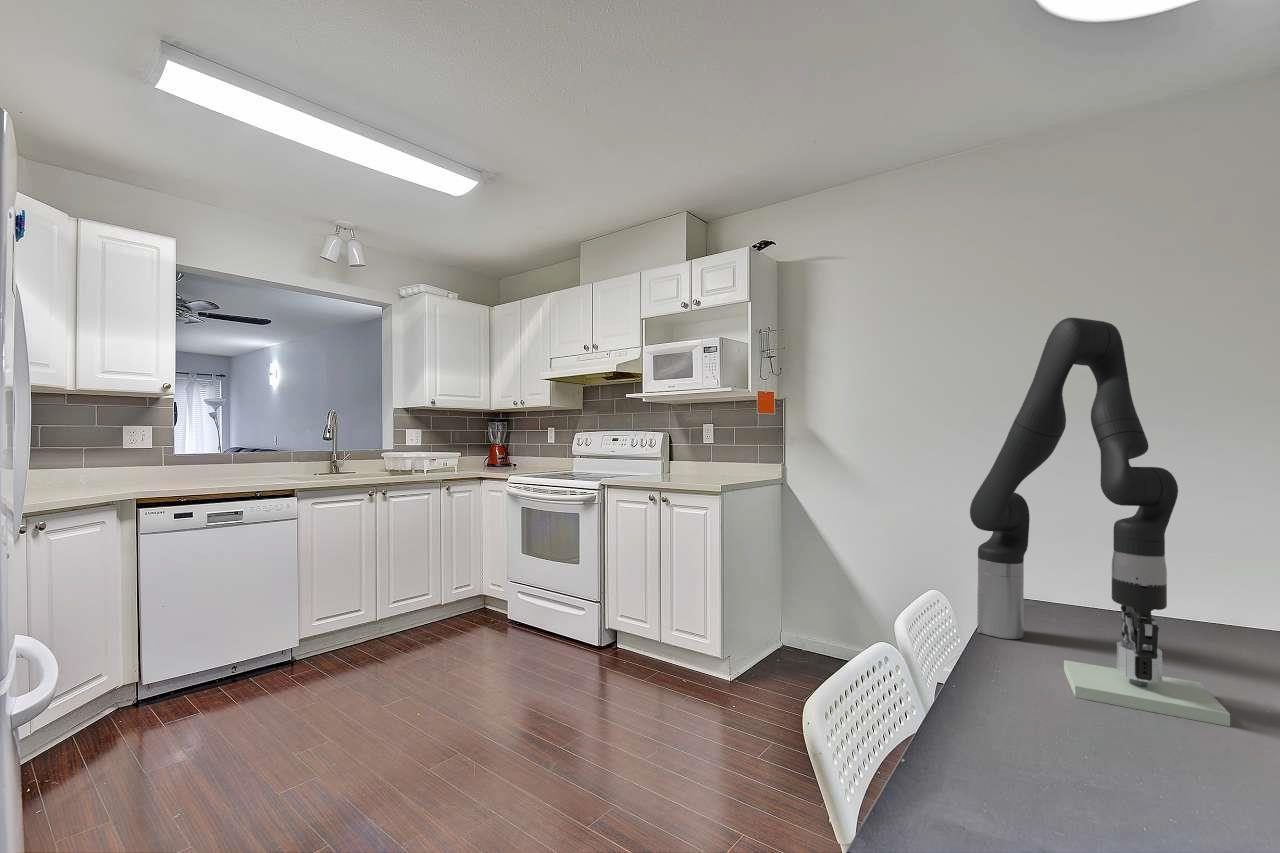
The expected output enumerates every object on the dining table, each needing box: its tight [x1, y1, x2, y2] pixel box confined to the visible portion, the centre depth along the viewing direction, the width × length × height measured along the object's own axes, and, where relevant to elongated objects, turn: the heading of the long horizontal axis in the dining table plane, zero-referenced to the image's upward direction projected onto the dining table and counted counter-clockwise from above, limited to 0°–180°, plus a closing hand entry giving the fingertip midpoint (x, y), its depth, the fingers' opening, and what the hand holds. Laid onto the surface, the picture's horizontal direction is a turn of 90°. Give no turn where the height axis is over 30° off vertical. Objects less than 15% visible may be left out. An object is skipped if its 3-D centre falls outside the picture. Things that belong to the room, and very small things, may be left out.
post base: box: [1063, 659, 1231, 727], centre depth 104 cm, size 20×14×7 cm
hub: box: [1116, 640, 1163, 683], centre depth 104 cm, size 6×6×5 cm
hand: (1138, 672), depth 104 cm, fingers closed on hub, 6 cm apart
